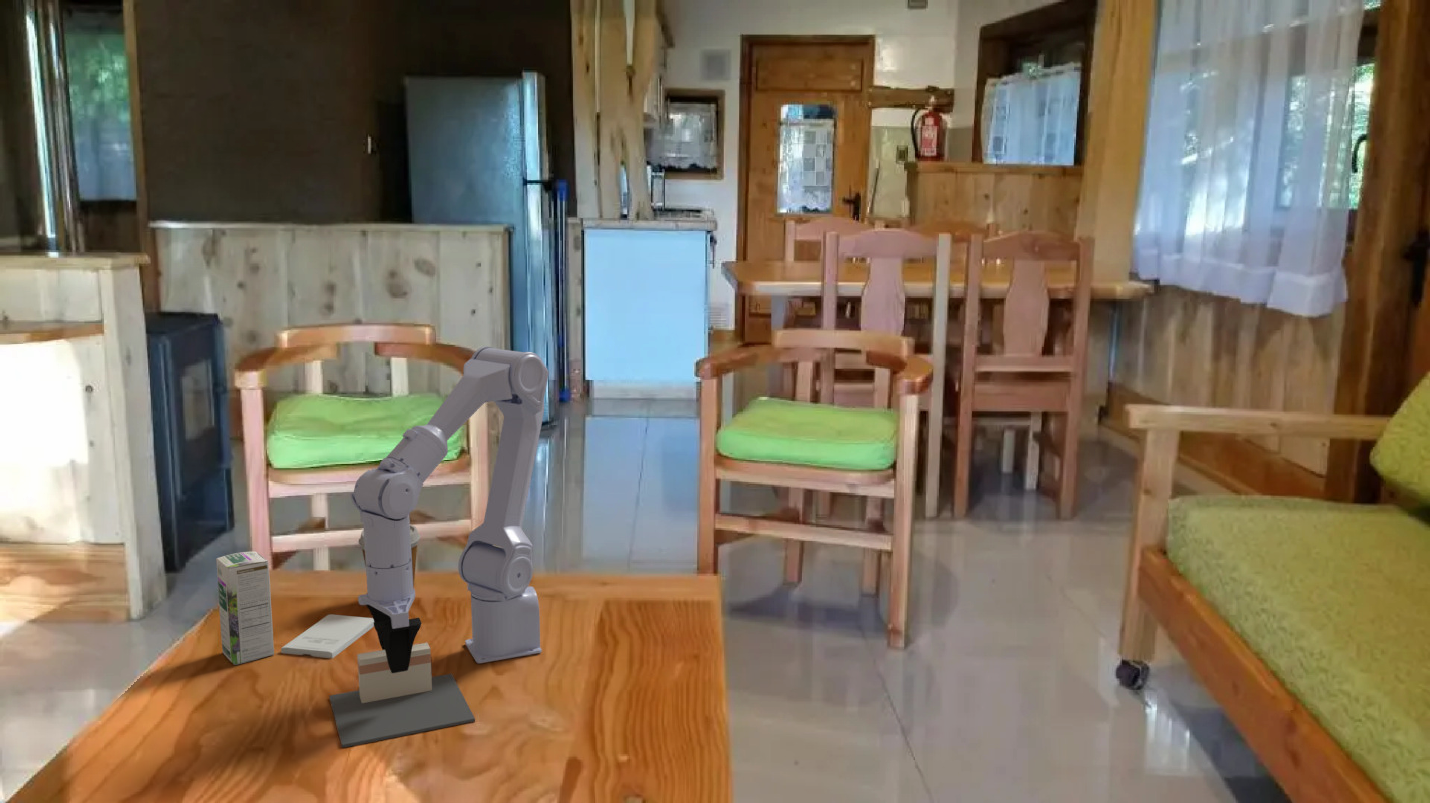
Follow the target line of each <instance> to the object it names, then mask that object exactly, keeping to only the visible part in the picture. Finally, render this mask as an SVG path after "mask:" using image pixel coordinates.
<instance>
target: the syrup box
mask: <svg viewBox="0 0 1430 803" xmlns="http://www.w3.org/2000/svg"><path fill="white" fill-rule="evenodd" d="M215 560H216V571H217V572H216V574H217V576H216V577H217V591H218V592H217V593H218V606H219V621H220V622H219V624H220V625H219V626H220V635H221V636H220V638H221V648H222V651H221V652H222V654H223V655H224V656H225V657H226V658H227V659H228V661H230V662H231V663H232V664H233V665H234V666H238V665H241V664H245V663H249V662H252V661H257V660H260V659H263V658H267V657H270V656H273V655H275V649H274V648H275V647H274V645H275V644H274V629H273V616H272V615H273V613H272V600H271V599H272V598H271V581H270V580H271V579H270V569H269V567H270V566H269V565H270V564H269V563H270V562H269V560H267V559H266V558H265V557H264V556H263V555H261V554H260V553H258V552H257V551H255V550H254V551H242V552H236V553H231V554H227V555H223V556H221V557H217V558H216V559H215Z"/></svg>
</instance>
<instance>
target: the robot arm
mask: <svg viewBox="0 0 1430 803" xmlns="http://www.w3.org/2000/svg"><path fill="white" fill-rule="evenodd" d="M462 370H463V371H462V372H463V376H462V377H461V378H460V379H459V381H458V383H457V384H456V385H455V386H454V387H453V389H452V390H451V391H450V393H449V394H448V395H447V397H446V398H445V399H444V401H443V402H442V403H441V405H440V406H439V407H438V409H437V410H436V411H435V413H434V414H433V416H432V417H431V419H429V421H428V422H427V424H424V425H415V426H412V427H411V428H407V429H406V430H405V432H403V434H402V437H403V438H402V439H401V440H400V441H399V442H398V443H397V444H396V446H395V447H394V448H393V449H392V450H391V452H390V453H388V455H387V456H386V457H384V458H383V459H382V460H381V461H380V463H379V465H378V466H377V468H371V470H370V469H368V470H366V471H365V472H363V473H362V475H360V476H359V478H358V479H357V480H356V482H355V485H354V489H353V492H352V493H350V499H351V502H352V504H353V506H354V507H355V508H356V509H357V510H358V512H359V515H360V517H359V518H360V522H361V523H362V525H363V527H362V528H363V530H364V544H365V560H366V567H365V573H366V574H365V575H366V590H367V593H365V594H360V595H358V596H357V601H358V605H360V606H366V607H367V609H368V611H369V612H370V614H371V616H372V617H371V618H373V619H374V627H373V628H374V629H375V632H376V634H377V638H378V641H379V642H378V643H379V645H380V647H381V650H385V652H386V656H387V661H388V665H389V668H390V670H391V673H397V672H403V671H407V670H408V668H409V664H410V658H411V652H412V646H413V645H414V642H415V640H416V637H417V634H418V632H419V631H420V629H421V627H422V626H421V625H422V621H421V618H420V617H414V618H410V617H409V611H410V609H411V606H412V605H413V602H414V601H415V598H416V590H415V588H414V589H413V573H412V555H411V536H410V525H411V522H410V514H411V513H412V512H413V511H414V510H416V507H417V505H418V502H419V498H420V493H421V491H422V489H423V488H424V487H423V485H424V482H425V481H426V480H427V479H428V478H429V477H430V475H432V473H433V472H434V471H435V469H436V468H437V467H438V466H439V465H440V464H441V462H443V461H444V459H445V458H446V456H447V455H448V453H449V452H448V450H449V449H448V448H449V447H448V441H449V439H450V438H452V436H453V435H455V433H456V432H458V431H459V430H460V429H461V427H462V426H463V425H464V424H465V423H466V422H467V421H468V420H469V419H470V418H471V417H473V415H474V414H475V413H476V412H477V411H478V410H479V409H480V408H481V407H482V406H483V405H484V404H486V403H491V402H493V403H494V404H495V405H496V406H497V408H498V410H499V411H500V412H501V413H502V415H503V420H502V426H501V432H500V436H499V442H498V447H497V452H496V455H495V456H496V457H495V463H494V466H493V471H492V472H493V473H492V477H491V483H490V488H489V492H488V499H487V504H486V508H485V513H484V518H483V522H482V523H481V524H480V525H479V526H477V527H476V528H475V529H473V530H472V531H471V532H469V534H468V538H467V543H466V546H465V547H464V548H463V550H462V552H461V554H460V556H459V560H458V564H457V565H458V566H457V568H458V575H459V576H460V579H461V580H462V581H463V582H465V584H467V591H469V592H470V605H471V607H470V608H471V609H470V610H471V611H470V612H471V635H472V638H469V639H466V640H465V641H464V644H465V646H466V648H467V649H468V651H469V653H470V654H471V656H472V657H473V659H474V660H475V663H477V664H484V663H490V662H496V661H500V660H507V659H512V658H518V657H523V656H529V655H534V654H540V653H542V652H543V651H542V648H541V632H540V631H541V630H540V629H541V627H540V626H541V625H540V624H541V623H540V620H541V619H540V603H539V599H538V598H539V597H538V595H537V591H536V590H535V587H533V586H530V583H531V581H532V578H533V574H534V572H533V571H534V566H533V561H532V560H533V559H532V558H533V557H532V555H533V550H534V545H533V544H532V542H531V541H530V539H529V538H528V536H527V535H526V533H525V532H524V531H523V529H522V528H523V522H524V518H525V513H526V506H527V502H528V495H529V490H530V486H531V481H532V474H533V471H534V470H533V469H534V464H535V461H536V455H537V450H538V445H539V444H538V443H539V439H540V434H541V429H542V426H543V425H542V424H543V419H544V413H545V395H546V389H547V384H548V378H549V375H550V374H549V373H550V372H549V370H548V368H547V366H546V365H545V363H544V362H543V360H542V358H541V357H540V356H539V355H538V354H537V353H535V352H531V351H525V352H524V351H523V352H522V351H517V350H509V349H502V348H496V347H492V346H487V345H486V346H482V347H480V348H478V349H476V350H475V352H474V353H473V354H472V356H471V358H469V359H468V360H467V361H466V362H465V363H464V364H463V369H462Z"/></svg>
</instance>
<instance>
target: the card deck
mask: <svg viewBox="0 0 1430 803" xmlns="http://www.w3.org/2000/svg"><path fill="white" fill-rule="evenodd" d="M356 655H357V671H358V672H357V674H358V687H359V689H358V690H359V693H360V699H361V702H362V703H366V702H372V701H377V700H382V699H388V698H393V697H399V696H404V695H410V694H415V693H421V692H426V691H431V690H432V677H433V676H432V654H431V647H430V645H429V642H423V643H416V644H413V646H412V652H411V658H410V664H409V668H408V670H407V671H403V672H397V673H391V670H390V668H389V665H388V661H387V656H386V652H385V650H382V649H381V650H373V651H367V652H362V653H357V654H356Z"/></svg>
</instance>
